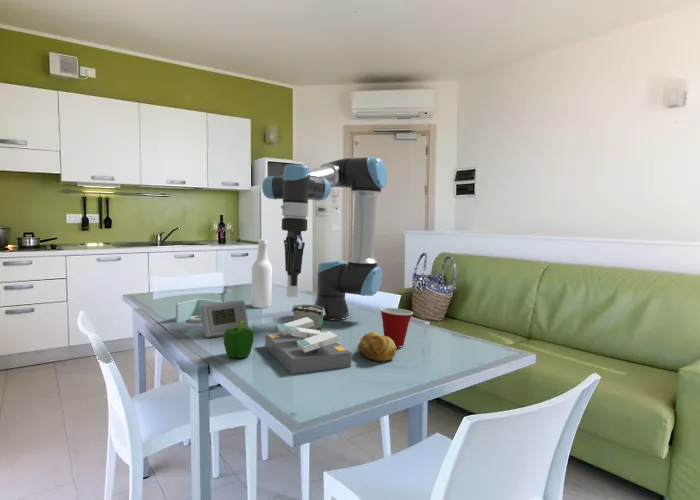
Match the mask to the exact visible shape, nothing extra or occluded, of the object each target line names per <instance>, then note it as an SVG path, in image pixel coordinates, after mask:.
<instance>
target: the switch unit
mask: <svg viewBox="0 0 700 500" xmlns="http://www.w3.org/2000/svg"><path fill="white" fill-rule="evenodd" d="M315 330H316V329H315ZM264 335H265V336H264V347H265V348H266V349H267V350H268V351H269V352H270V353H271V354H272V355H273V356H274V357H275V358H276V359H277V360H278V362H280V363H281V365H282V366H283V367H284V368H286V370H287V371H288V372H289V373H290V374H291V375H298V374H304V373H305V374H306V373H314V372H321V371H329V370H336V369H343V368H351V367H352V351H350V350H348V349H347V348H345V347H344V346H342V345H341V344H340V343H338V342H336V343H333V344H330V345H327V346H324V347H321V348H317V349H314V350H311V351H308V352H304V351H302V350H301V349H300V348H299V347H298V346H297V341H299V340H302V339H305V338H303V337H295V336H292V335H291V334H286V335H283V334H282V333H280V332H279V331H278V332H269V333H268V332H267V333H264Z"/></svg>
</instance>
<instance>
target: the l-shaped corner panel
mask: <svg viewBox="0 0 700 500" xmlns="http://www.w3.org/2000/svg"><path fill="white" fill-rule="evenodd" d="M221 302H222V301H220V300H212V299H204V298H196V299H190V300H186V301H182V302H178V303H176V304H175V322H176V323H181V322H184V321H188V322H189V323H192V324H195V323H196V324H198V323H203V321H202V314H201V306H202V305H206V304H212V303H221Z"/></svg>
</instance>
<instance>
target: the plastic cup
mask: <svg viewBox="0 0 700 500" xmlns="http://www.w3.org/2000/svg"><path fill="white" fill-rule="evenodd" d="M379 311H380V313H381V319H382V328H383V330H382V331H383V336H387V337H390V338H391V339H392V340H393V341H394V344H395V346H396V347H399V346H403V347H404V345H405V339H406V336H407V332H408V329H409V323H410V321H411V318H412V315H414V312H413V311H411V310H407V309H403V308H396V307H381V308H379Z"/></svg>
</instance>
